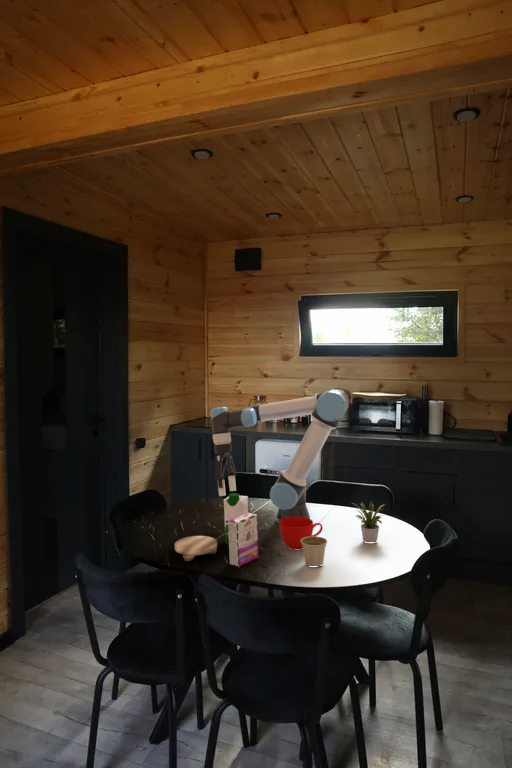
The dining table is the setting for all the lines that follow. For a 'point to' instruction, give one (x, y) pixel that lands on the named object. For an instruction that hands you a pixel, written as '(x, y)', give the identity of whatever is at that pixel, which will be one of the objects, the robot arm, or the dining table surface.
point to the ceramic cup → (297, 530)
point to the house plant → (369, 523)
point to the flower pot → (314, 550)
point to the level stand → (195, 546)
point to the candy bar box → (243, 539)
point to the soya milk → (234, 509)
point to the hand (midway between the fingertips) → (227, 493)
